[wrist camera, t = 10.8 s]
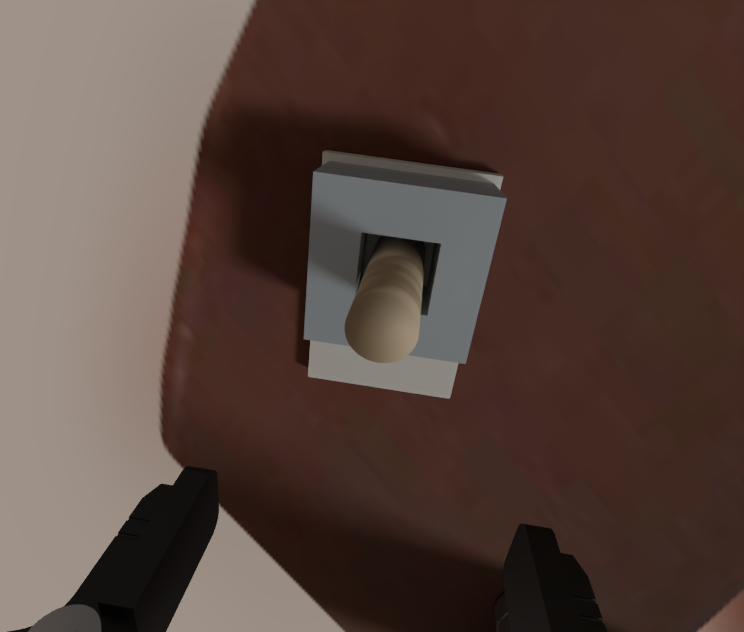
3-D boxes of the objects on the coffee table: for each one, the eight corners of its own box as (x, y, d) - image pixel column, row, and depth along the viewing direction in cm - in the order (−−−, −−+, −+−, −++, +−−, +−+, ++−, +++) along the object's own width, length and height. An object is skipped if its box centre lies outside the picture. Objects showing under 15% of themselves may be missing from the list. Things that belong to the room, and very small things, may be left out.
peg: (429, 230, 31) (424, 302, 21) (421, 278, 33) (413, 368, 22) (377, 224, 31) (347, 291, 21) (373, 272, 33) (342, 357, 22)
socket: (500, 173, 30) (518, 190, 25) (449, 390, 38) (453, 439, 33) (326, 149, 31) (305, 161, 25) (311, 368, 39) (292, 414, 33)
